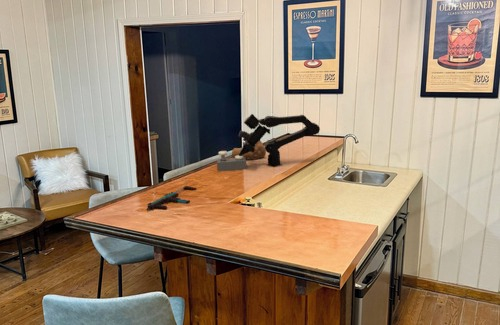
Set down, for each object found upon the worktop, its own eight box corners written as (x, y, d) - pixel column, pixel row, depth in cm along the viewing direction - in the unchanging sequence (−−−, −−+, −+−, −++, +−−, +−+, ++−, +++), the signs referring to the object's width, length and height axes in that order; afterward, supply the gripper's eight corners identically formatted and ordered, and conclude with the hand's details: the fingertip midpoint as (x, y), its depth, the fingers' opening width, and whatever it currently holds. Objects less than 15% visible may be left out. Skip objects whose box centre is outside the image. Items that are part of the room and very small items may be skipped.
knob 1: (227, 161, 234) (226, 150, 232) (227, 163, 229) (226, 152, 228) (219, 162, 233) (218, 151, 232) (219, 164, 229) (218, 153, 227)
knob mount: (245, 165, 236) (245, 157, 235) (246, 169, 229) (245, 160, 227) (218, 167, 236) (217, 159, 235) (217, 171, 228) (216, 162, 227)
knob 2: (243, 165, 235) (243, 154, 233) (244, 167, 230) (243, 156, 229) (235, 166, 234) (234, 155, 233) (235, 168, 230) (235, 157, 228)
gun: (170, 210, 167) (140, 206, 173) (170, 215, 167) (141, 211, 173) (208, 188, 195) (181, 185, 201) (209, 192, 195) (182, 189, 201)
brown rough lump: (258, 167, 245) (271, 155, 254) (254, 152, 240) (267, 139, 249) (233, 163, 256) (247, 151, 266) (229, 149, 251) (243, 137, 261)
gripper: (245, 122, 236) (227, 143, 238) (247, 127, 218) (228, 149, 220) (260, 135, 238) (242, 155, 240) (263, 141, 220) (243, 163, 222)
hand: (238, 155), depth 231 cm, fingers closed, pressing on knob 2
